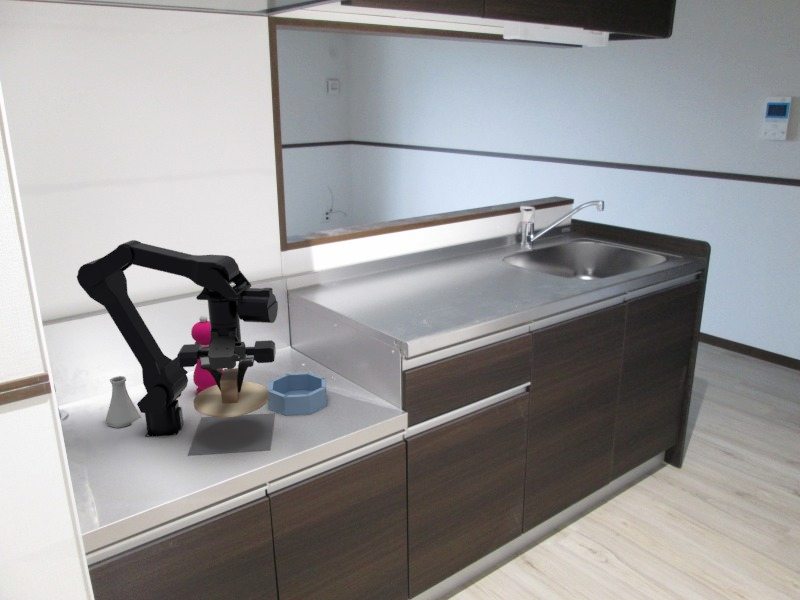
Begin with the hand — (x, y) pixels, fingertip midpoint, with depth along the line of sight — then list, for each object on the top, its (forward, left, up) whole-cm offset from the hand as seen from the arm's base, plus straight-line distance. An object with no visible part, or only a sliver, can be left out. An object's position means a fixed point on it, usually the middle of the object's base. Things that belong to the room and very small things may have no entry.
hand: (231, 392), depth 131 cm
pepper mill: (-8, +21, -10) cm, 25 cm away
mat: (0, 0, -10) cm, 10 cm away
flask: (-25, +10, -10) cm, 29 cm away
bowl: (+13, +13, -10) cm, 21 cm away
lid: (0, 0, -2) cm, 2 cm away
